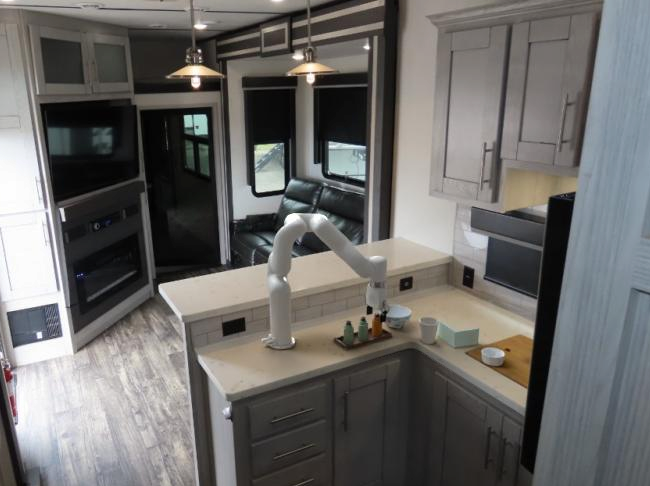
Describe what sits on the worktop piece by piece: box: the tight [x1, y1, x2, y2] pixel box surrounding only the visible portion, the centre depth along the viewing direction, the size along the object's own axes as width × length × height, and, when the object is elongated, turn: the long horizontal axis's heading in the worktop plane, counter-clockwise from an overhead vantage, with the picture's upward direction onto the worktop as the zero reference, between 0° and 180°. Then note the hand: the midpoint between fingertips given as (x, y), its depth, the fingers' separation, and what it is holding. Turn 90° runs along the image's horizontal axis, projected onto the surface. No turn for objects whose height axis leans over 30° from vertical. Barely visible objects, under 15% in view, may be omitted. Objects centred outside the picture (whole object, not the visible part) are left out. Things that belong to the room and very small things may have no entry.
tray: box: [333, 326, 393, 351], centre depth 233 cm, size 25×10×2 cm, turn 116°
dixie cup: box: [418, 316, 440, 345], centre depth 228 cm, size 8×8×10 cm
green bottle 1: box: [342, 320, 355, 345], centre depth 229 cm, size 5×5×10 cm
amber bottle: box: [371, 312, 383, 337], centre depth 235 cm, size 5×5×10 cm
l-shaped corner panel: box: [438, 320, 480, 349], centre depth 228 cm, size 12×12×8 cm
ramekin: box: [480, 347, 506, 367], centre depth 209 cm, size 9×9×4 cm
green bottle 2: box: [357, 316, 369, 341], centre depth 232 cm, size 5×5×10 cm
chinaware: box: [378, 304, 412, 330], centre depth 245 cm, size 15×15×8 cm
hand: (376, 318), depth 234 cm, fingers open, 9 cm apart
